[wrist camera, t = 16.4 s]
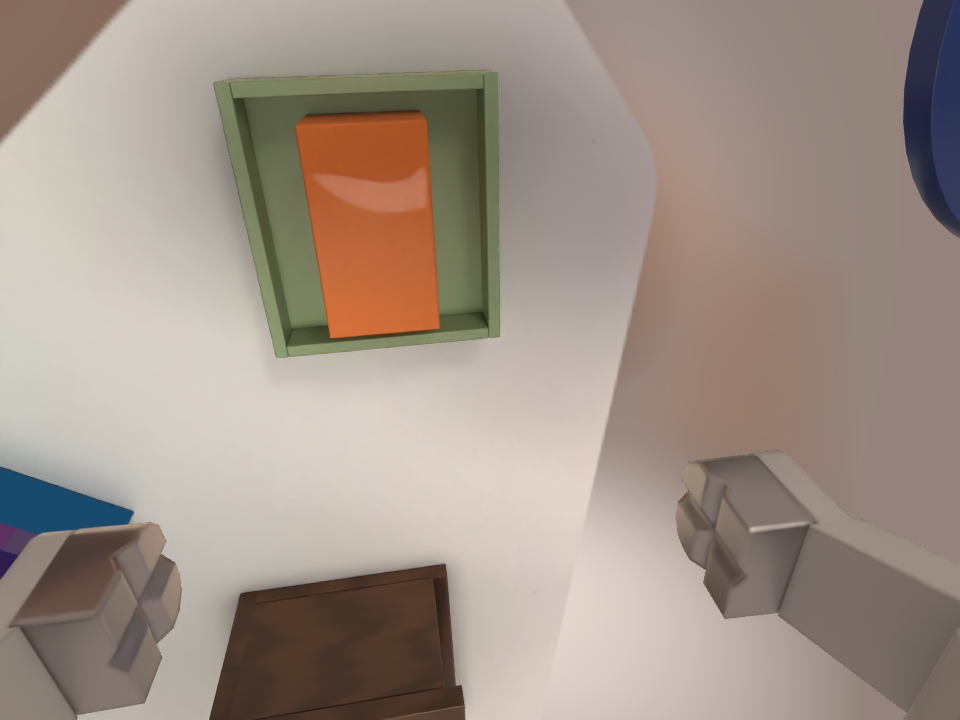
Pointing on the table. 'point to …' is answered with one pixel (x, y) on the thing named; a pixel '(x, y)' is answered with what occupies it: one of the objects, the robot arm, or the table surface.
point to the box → (45, 513)
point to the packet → (371, 219)
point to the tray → (284, 210)
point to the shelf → (343, 652)
